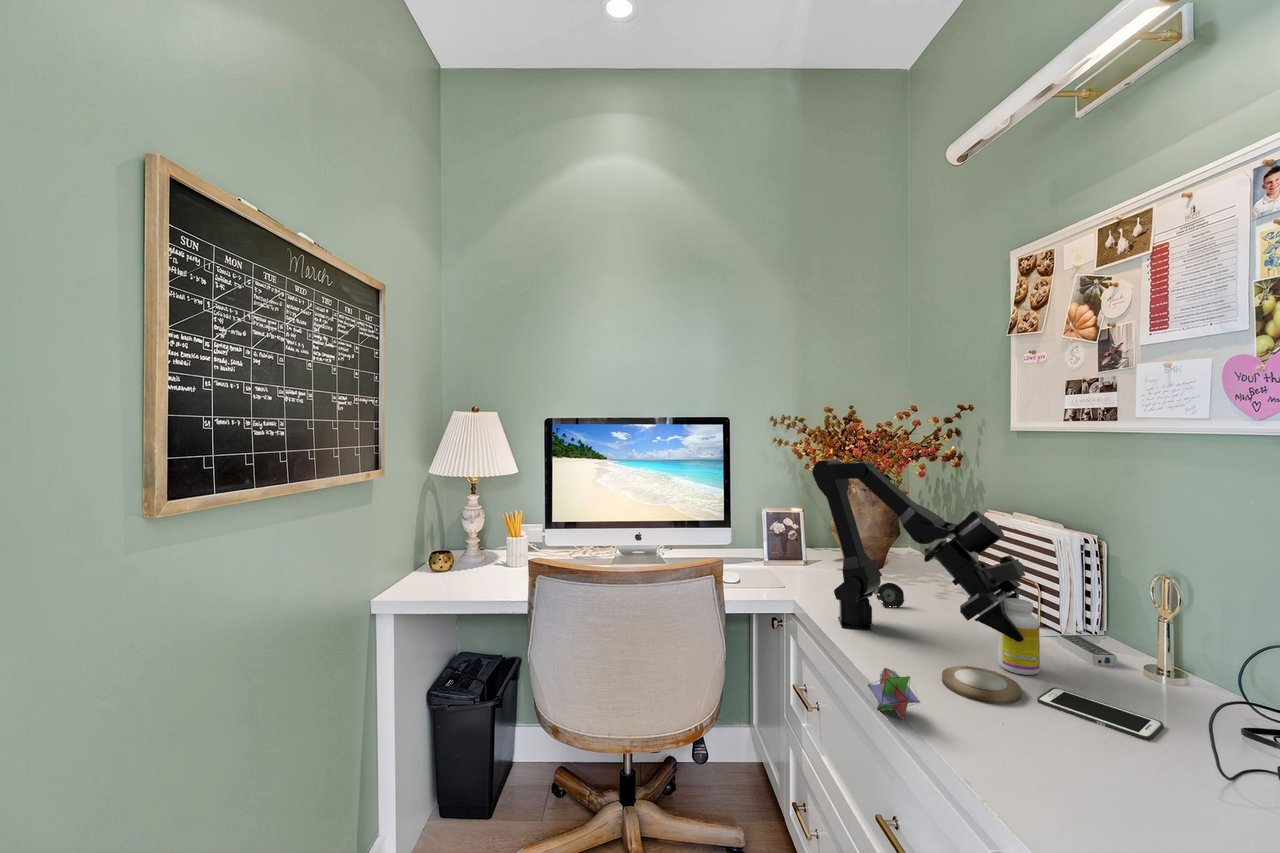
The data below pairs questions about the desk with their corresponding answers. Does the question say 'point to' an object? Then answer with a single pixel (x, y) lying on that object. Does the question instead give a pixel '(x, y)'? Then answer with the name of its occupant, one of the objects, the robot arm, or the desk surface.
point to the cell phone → (1102, 713)
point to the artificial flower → (890, 595)
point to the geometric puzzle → (893, 692)
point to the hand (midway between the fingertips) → (1026, 636)
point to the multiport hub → (1087, 650)
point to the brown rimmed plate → (981, 685)
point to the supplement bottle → (1026, 652)
